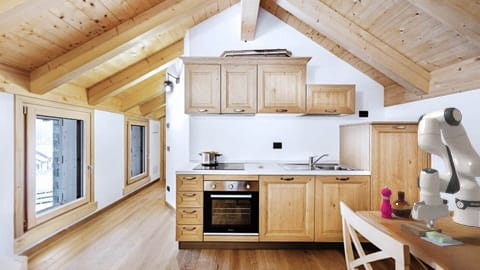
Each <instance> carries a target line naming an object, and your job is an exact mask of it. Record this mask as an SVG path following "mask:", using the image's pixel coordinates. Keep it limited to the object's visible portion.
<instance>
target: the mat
mask: <svg viewBox="0 0 480 270" xmlns="http://www.w3.org/2000/svg"><path fill="white" fill-rule="evenodd" d="M419 238H420V239H422V240H425V241H427V242H429V243H431V242H432V244H434V245H436V246H438V247H450V246H458V245H464V244H465V243H464V242H462V241H459V240H456V239H454V238H452V242H444V243H441V242H439V241H436V240H434V239H431V238H429V237H426V236H425V237H419Z"/></svg>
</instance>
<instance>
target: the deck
mask: <svg viewBox="0 0 480 270" xmlns="http://www.w3.org/2000/svg"><path fill="white" fill-rule="evenodd" d="M400 231H403V232H404V233H405V232H406V233H407V234H410V235H413V236H415V237H417V238H420V237H425V232H432V231H436V232H439V233H441V234H443V231H442V228H439V227H436V226H434V227H432V228H428V227H427V224H426V222H422V221H419V222H412V223H411V222H410V223H402V224H400Z"/></svg>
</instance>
